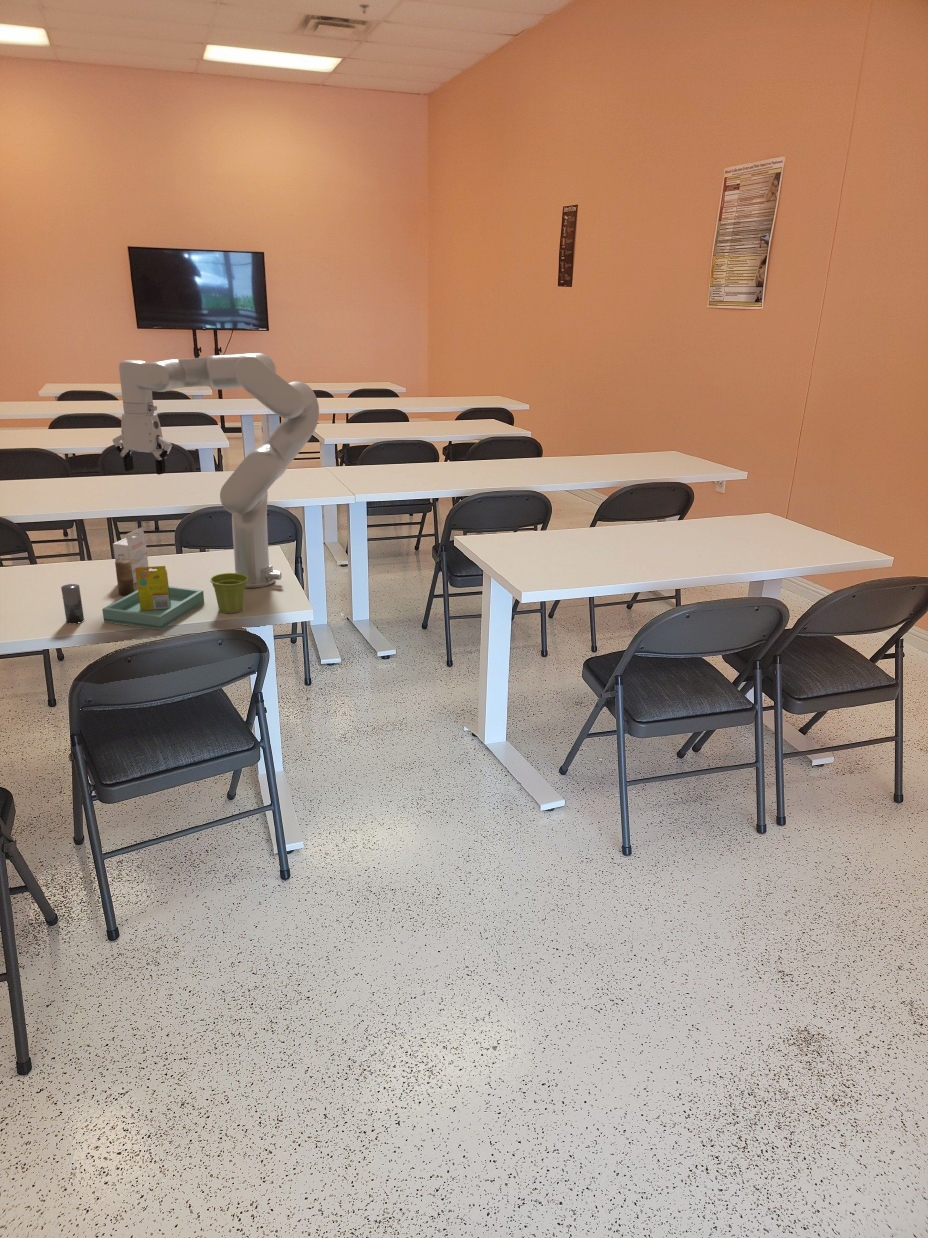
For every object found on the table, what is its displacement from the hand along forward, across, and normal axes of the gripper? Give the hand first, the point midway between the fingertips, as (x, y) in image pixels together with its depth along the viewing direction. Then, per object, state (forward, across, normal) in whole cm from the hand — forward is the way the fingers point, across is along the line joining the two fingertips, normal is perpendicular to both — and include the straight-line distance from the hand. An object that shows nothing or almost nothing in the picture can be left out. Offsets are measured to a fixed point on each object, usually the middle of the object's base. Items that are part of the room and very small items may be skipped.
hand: (145, 471), depth 220 cm
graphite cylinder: (+30, 0, +36) cm, 47 cm away
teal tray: (+30, -16, +25) cm, 42 cm away
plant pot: (+31, -33, +17) cm, 48 cm away
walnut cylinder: (+30, -1, +15) cm, 34 cm away
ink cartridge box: (+31, +4, +5) cm, 31 cm away
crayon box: (+30, -16, +25) cm, 41 cm away
